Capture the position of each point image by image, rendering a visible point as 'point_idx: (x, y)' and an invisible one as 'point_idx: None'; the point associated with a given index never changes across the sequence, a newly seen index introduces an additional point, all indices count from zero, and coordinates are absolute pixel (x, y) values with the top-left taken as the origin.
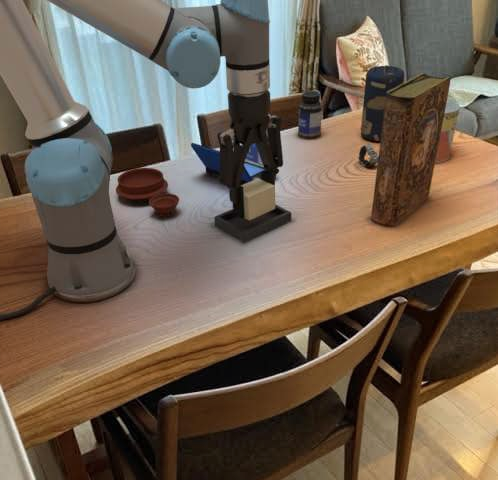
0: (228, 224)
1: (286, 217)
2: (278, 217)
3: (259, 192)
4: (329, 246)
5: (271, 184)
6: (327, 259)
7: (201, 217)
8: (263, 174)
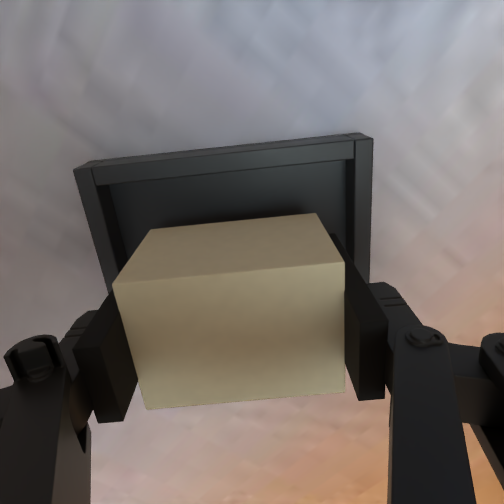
0: (102, 267)
1: None
2: None
3: (228, 402)
4: (331, 461)
5: (342, 371)
6: (282, 492)
7: (61, 46)
8: (355, 337)
